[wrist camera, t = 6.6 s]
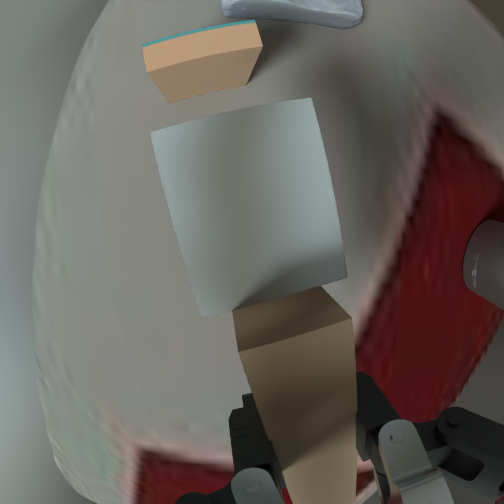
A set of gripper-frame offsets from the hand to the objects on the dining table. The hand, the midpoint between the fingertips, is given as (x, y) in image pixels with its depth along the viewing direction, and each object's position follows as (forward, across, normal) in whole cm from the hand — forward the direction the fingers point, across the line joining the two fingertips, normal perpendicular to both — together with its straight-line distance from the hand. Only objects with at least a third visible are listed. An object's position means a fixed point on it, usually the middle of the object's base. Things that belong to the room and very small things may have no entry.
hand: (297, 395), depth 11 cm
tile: (+14, 0, -16) cm, 21 cm away
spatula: (+1, 0, -2) cm, 2 cm away
